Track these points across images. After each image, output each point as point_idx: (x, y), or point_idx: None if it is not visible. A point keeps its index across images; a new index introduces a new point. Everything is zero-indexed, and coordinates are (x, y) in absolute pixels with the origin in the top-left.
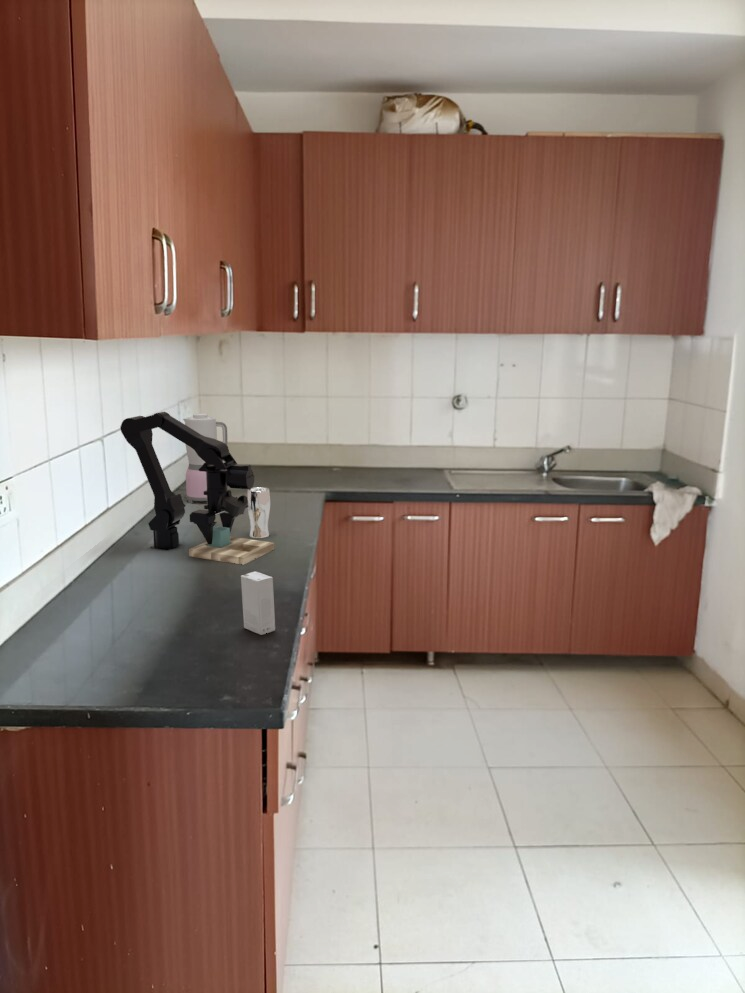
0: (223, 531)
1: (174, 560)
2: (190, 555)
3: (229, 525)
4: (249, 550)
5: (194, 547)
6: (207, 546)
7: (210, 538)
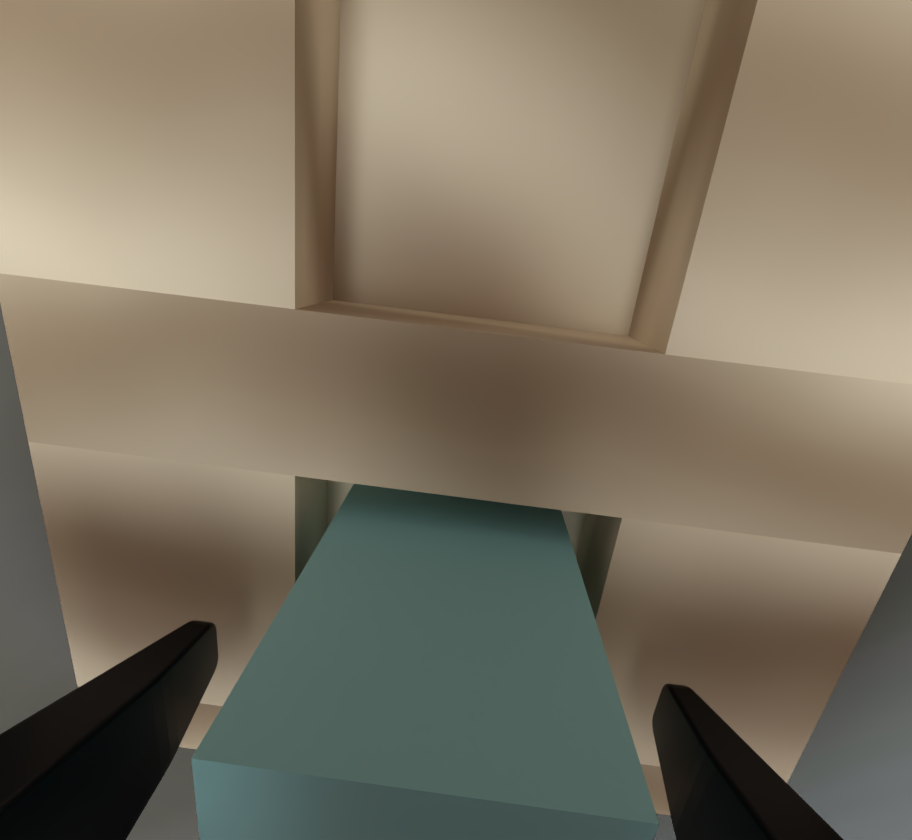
0: (505, 765)
1: (816, 793)
2: None
3: (12, 830)
4: (330, 171)
5: None
6: None
7: (795, 795)
